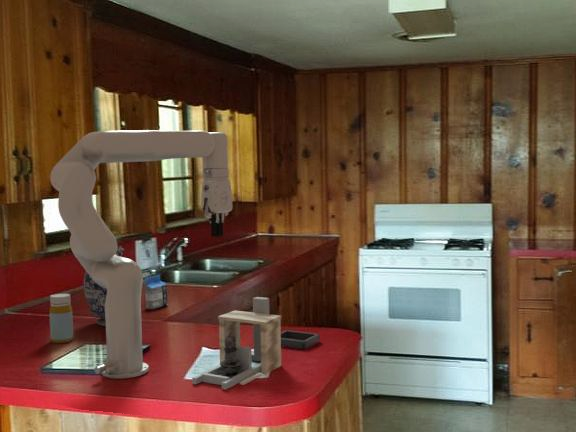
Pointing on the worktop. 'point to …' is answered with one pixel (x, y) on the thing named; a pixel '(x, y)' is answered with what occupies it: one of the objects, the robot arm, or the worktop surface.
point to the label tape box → (155, 292)
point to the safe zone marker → (250, 378)
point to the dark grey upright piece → (230, 357)
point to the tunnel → (268, 335)
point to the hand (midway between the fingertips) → (217, 236)
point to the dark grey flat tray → (298, 339)
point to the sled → (240, 355)
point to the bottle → (61, 318)
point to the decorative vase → (97, 294)
